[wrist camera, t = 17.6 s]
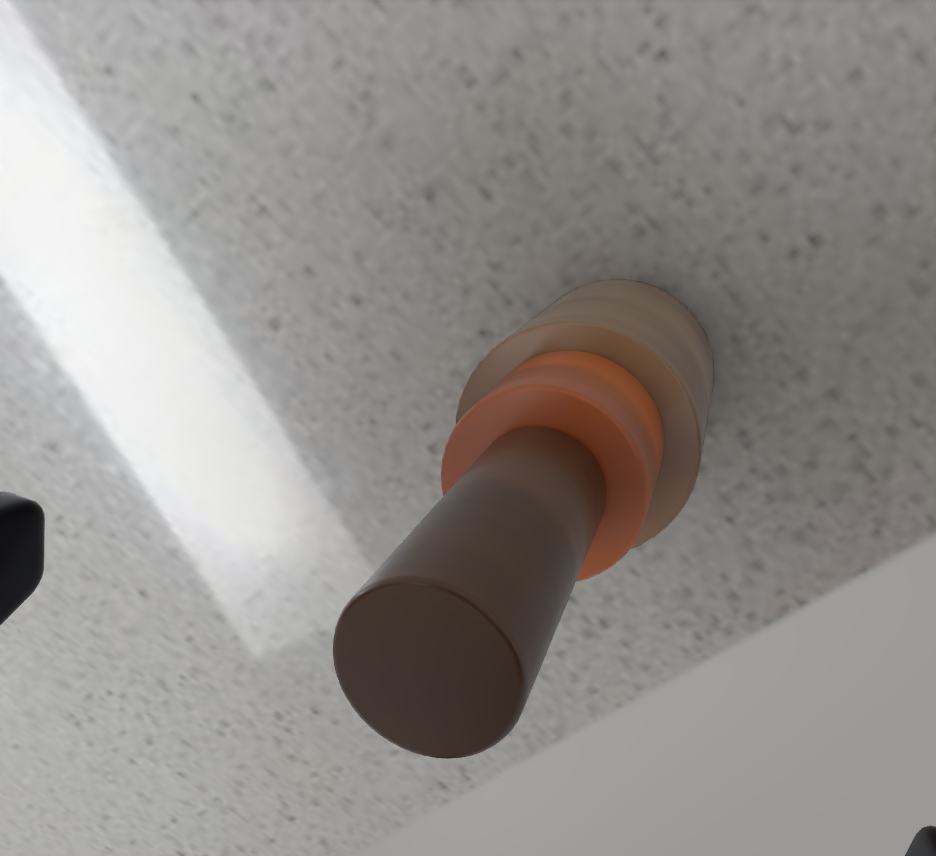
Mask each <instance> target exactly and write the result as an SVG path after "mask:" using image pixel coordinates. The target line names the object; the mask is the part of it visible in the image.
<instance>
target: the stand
mask: <svg viewBox="0 0 936 856" xmlns="http://www.w3.org/2000/svg"><path fill="white" fill-rule="evenodd" d="M556 351H581V352H588V353H592V354H595V355H599V356H602V357H604V358H606V359H609V360H611V361H613V362H615V363H617V364H618V365H620V366H622V367H623V368H625V369H626V370H627V371H628V372H630V373H631V374H632V375H633V376H634V377H635V378H636V379H637V380H638V381H639V382H640V383H641V384H642V385H643V386H644V387H645V389H646V390H647V391H648V393H649V394H650V396H651V398H652V399H653V401H654V403H655V405H656V407H657V409H658V412H659V414H660V417H661V421H662V425H663V431H664V454H663V460H662V465H661V468H660V472H659V475H658V478H657V482H656V485H655V489H654V492H653V496H652V499H651V503H650V506H649V510H648V513H647V516H646V519H645V522H644V526H643V528H642V530H641V532H640V534H639V536H638V538H637V540H636V541H635V543H634V544H633V546H632V547H631V549H632V548H634V547H637V546H639V545H641V544H643V543H645V542H646V541H648V540H650V539H651V538H653V537H655V536H656V535H657V534H658V533H660V532H661V531H662V530H663V529H665V528H666V527H667V526H668V525H669V524H670V523H671V522H672V521H673V520H674V519H675V517H676V516H677V515H678V514H679V512H680V511H681V509H682V508H683V507H684V505H685V504H686V502H687V500H688V498H689V496H690V494H691V492H692V490H693V488H694V485H695V482H696V479H697V476H698V471H699V466H700V461H701V455H702V449H703V443H704V437H705V431H706V425H707V419H708V412H709V406H710V400H711V394H712V388H713V380H714V366H713V357H712V353H711V349H710V345H709V342H708V340H707V337H706V335H705V333H704V331H703V329H702V327H701V326H700V324H699V322H698V321H697V320H696V318H695V317H694V316H693V314H692V313H691V312H690V311H689V310H688V309H687V308H686V307H685V306H684V305H683V304H682V303H681V302H680V301H678V300H677V299H676V298H674V297H673V296H672V295H670V294H668V293H666V292H665V291H663V290H661V289H659V288H657V287H654V286H652V285H649V284H646V283H642V282H638V281H632V280H625V279H611V280H603V281H597V282H593V283H590V284H586V285H584V286H581V287H579V288H577V289H575V290H573V291H571V292H569V293H568V294H566V295H564V296H563V297H562V298H560V299H559V300H558V301H556V302H555V303H554V304H552V305H551V306H550V307H548V308H547V309H546V310H544V311H543V312H542V313H540V314H539V315H538V316H536V317H535V318H533V319H532V320H531V321H529V322H528V323H527V324H525V325H524V326H523V327H521V328H520V329H519V330H517V331H516V332H515V333H513V334H512V335H511V336H509V337H508V338H507V339H505V340H504V341H503V342H501V343H500V344H499V345H498V346H496V347H495V348H494V349H492V350H491V351H490V352H489V353H488V354H487V355H486V356H485V357H484V358H483V360H482V361H481V362H480V363H479V364H478V366H477V367H476V369H475V370H474V371H473V373H472V374H471V376H470V378H469V380H468V382H467V384H466V385H465V388H464V390H463V393H462V396H461V398H460V402H459V406H458V411H457V416H456V424H457V423H458V422H459V420H460V419H461V418H462V416H463V415H464V414H465V413H466V412H467V411H468V410H469V409H470V408H471V407H472V406H473V405H475V404H476V403H477V402H478V401H479V400H480V399H481V398H482V397H483V396H485V395H486V394H487V393H488V392H489V391H490V390H491V389H492V388H493V387H495V386H496V385H497V384H498V383H499V382H500V381H501V380H502V379H503V378H505V377H506V376H507V375H508V374H509V373H510V372H511V371H513V370H514V369H515V368H517V367H518V366H519V365H520V364H522V363H524V362H526V361H528V360H529V359H532V358H534V357H537V356H539V355H542V354H546V353H550V352H556Z"/></svg>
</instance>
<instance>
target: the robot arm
mask: <svg viewBox="0 0 936 856" xmlns="http://www.w3.org/2000/svg"><path fill="white" fill-rule="evenodd" d="M44 530H45V517H44V512H43V510H42V507H41V506H40V505H39V504H38V503H37V502H35V501H32V500H30V499H27V498H24V497H21V496H19V495H16V494H13V493H10V492H0V625H1V624H2V623H3V622H4V621H5V620H6V619H7V618H8V617H9V616H10V615H11V614H12V613H13V612H14V611H15V610H16V609H17V608H18V607H19V606H20V605H21V604H22V603H23V602H24V601H25V600H26V599H27V598H28V597H29V596H30V595H31V594H32V593H33V592H34V590H35V589H36V587H37V586H38V584H39V582H40V580H41V578H42V575H43V571H44ZM905 856H936V827H934V826H927V827H924V828H922V829H921V830H920V831H919V832H918V833H917V834H916V836H915V837H914V839H913V841H912V843H911V845H910V847H909V849H908V851H907V853H906V855H905Z"/></svg>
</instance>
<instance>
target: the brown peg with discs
mask: <svg viewBox="0 0 936 856" xmlns="http://www.w3.org/2000/svg"><path fill="white" fill-rule="evenodd" d="M663 454H664V431H663V425H662V421H661V417H660V414H659V412H658V409H657V407H656V405H655V403H654V401H653V399H652V398H651V396H650V394H649V393H648V391H647V390H646V389H645V387H644V386H643V385H642V384H641V383H640V382H639V381H638V380H637V379H636V378H635V377H634V376H633V375H632V374H631V373H630V372H628V371H627V370H626V369H625V368H623V367H622V366H620V365H618V364H617V363H615V362H613V361H611V360H609V359H606V358H604V357H602V356H599V355H595V354H592V353H588V352H581V351H556V352H550V353H546V354H542V355H539V356H537V357H534V358H532V359H529V360H528V361H526V362H524V363H522V364H520V365H519V366H518V367H517V368H515V369H514V370H513V371H511V372H510V373H509V374H508V375H507V376H506V377H505V378H503V379H502V380H501V381H500V382H499V383H498V384H497V385H496V386H495V387H493V388H492V389H491V390H490V391H489V392H488V393H487V394H486V395H485V396H483V397H482V398H481V399H480V400H479V401H478V402H477V403H476V404H475V405H473V406H472V407H471V408H470V409H469V410H468V411H467V412H466V413H465V414H464V415H463V416H462V418H461V419H460V420H459V422H458V423H457V424H456V426H455V427H454V429H453V431H452V433H451V435H450V437H449V439H448V442H447V444H446V447H445V450H444V455H443V459H442V469H441V481H442V490H443V496H444V497H443V498H442V499H441V500H440V501H439V502H438V503H437V504H436V505H435V507H434V508H433V509H432V510H431V511H430V512H429V513H428V514H427V515H426V517H425V518H424V519H423V520H422V521H421V522H420V523H419V524H418V525H417V526H416V528H415V529H414V530H413V531H412V532H411V533H410V534H409V535H408V536H407V538H406V539H405V540H404V541H403V542H402V543H401V544H400V545H399V546H398V548H397V549H396V550H395V551H394V552H393V553H392V554H391V555H390V556H389V557H388V559H387V560H386V561H385V562H384V563H383V564H382V565H381V566H380V567H379V569H378V570H377V571H376V572H375V573H374V574H373V575H372V576H371V577H370V579H369V580H368V581H367V582H366V583H365V584H364V585H363V586H362V587H361V589H360V590H359V591H358V592H357V593H356V594H355V595H354V596H353V597H352V598H351V600H350V601H349V602H348V604H347V605H346V606H345V608H344V609H343V611H342V613H341V615H340V617H339V620H338V622H337V625H336V629H335V635H334V641H333V657H334V665H335V670H336V674H337V677H338V680H339V683H340V685H341V688H342V690H343V692H344V694H345V696H346V698H347V699H348V701H349V702H350V704H351V705H352V707H353V708H354V709H355V711H356V712H357V713H358V714H359V716H360V717H361V718H362V719H363V720H364V721H365V722H366V723H367V724H368V725H369V726H370V727H371V728H372V729H374V730H375V731H376V732H377V733H378V734H380V735H381V736H383V737H384V738H386V739H387V740H389V741H390V742H392V743H394V744H396V745H398V746H399V747H401V748H404V749H406V750H409V751H411V752H414V753H417V754H421V755H424V756H430V757H435V758H461V757H466V756H471V755H474V754H477V753H480V752H482V751H484V750H486V749H488V748H490V747H492V746H494V745H495V744H497V743H498V742H499V741H501V740H502V739H503V738H504V737H505V736H506V735H507V734H508V733H509V732H510V731H511V730H512V729H513V727H514V726H515V724H516V723H517V721H518V719H519V717H520V715H521V713H522V711H523V708H524V706H525V704H526V701H527V699H528V696H529V694H530V691H531V689H532V687H533V684H534V682H535V679H536V677H537V674H538V672H539V670H540V667H541V665H542V662H543V660H544V657H545V655H546V653H547V650H548V648H549V645H550V643H551V640H552V638H553V636H554V633H555V631H556V628H557V626H558V623H559V621H560V619H561V616H562V614H563V611H564V609H565V606H566V604H567V602H568V599H569V597H570V594H571V592H572V589H573V587H574V585H575V582H577V581H580V580H584V579H588V578H590V577H593V576H595V575H597V574H600V573H601V572H603V571H605V570H607V569H608V568H610V567H611V566H613V565H614V564H615V563H617V562H618V561H619V560H620V559H621V558H622V557H623V556H624V555H625V554H626V553H627V552H628V551H629V550H630V549H631V547H632V546H633V544H634V543H635V541H636V540H637V538H638V536H639V534H640V532H641V530H642V528H643V526H644V522H645V519H646V516H647V513H648V510H649V506H650V503H651V499H652V496H653V492H654V489H655V485H656V482H657V478H658V475H659V472H660V468H661V465H662V460H663Z"/></svg>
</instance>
